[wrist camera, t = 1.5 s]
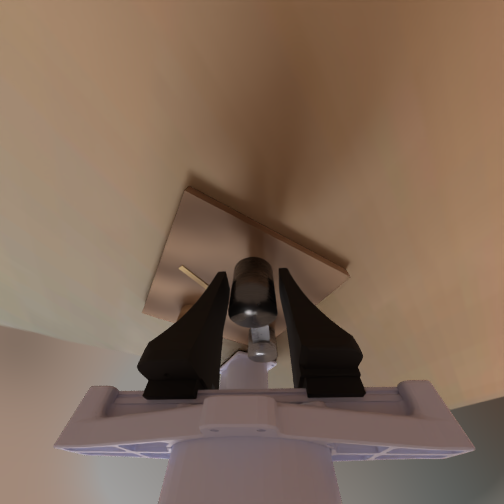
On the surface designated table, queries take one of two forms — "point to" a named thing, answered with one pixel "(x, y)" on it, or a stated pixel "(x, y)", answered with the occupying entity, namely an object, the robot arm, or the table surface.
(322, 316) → the robot arm
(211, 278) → the board
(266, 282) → the lever
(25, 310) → the table surface
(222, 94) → the table surface
